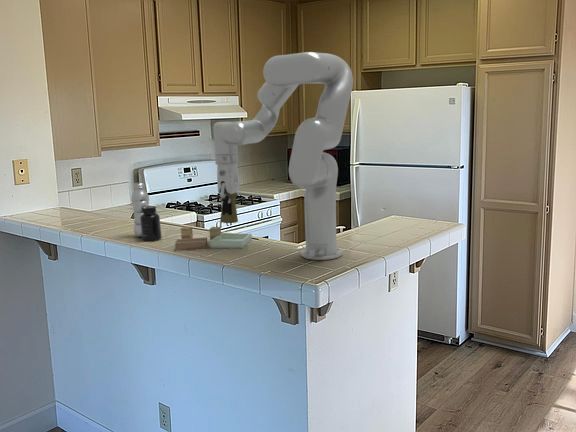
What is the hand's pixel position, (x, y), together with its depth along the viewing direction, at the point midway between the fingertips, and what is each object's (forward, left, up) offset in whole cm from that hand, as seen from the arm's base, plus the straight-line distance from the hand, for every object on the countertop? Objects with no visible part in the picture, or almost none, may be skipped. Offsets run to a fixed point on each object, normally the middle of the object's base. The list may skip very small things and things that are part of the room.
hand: (229, 213), depth 192 cm
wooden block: (-6, +12, -11) cm, 17 cm away
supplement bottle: (+5, +32, -11) cm, 34 cm away
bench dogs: (+3, +12, -11) cm, 16 cm away
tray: (0, 0, -11) cm, 11 cm away
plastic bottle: (+9, +37, -11) cm, 40 cm away
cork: (0, 0, -3) cm, 3 cm away
